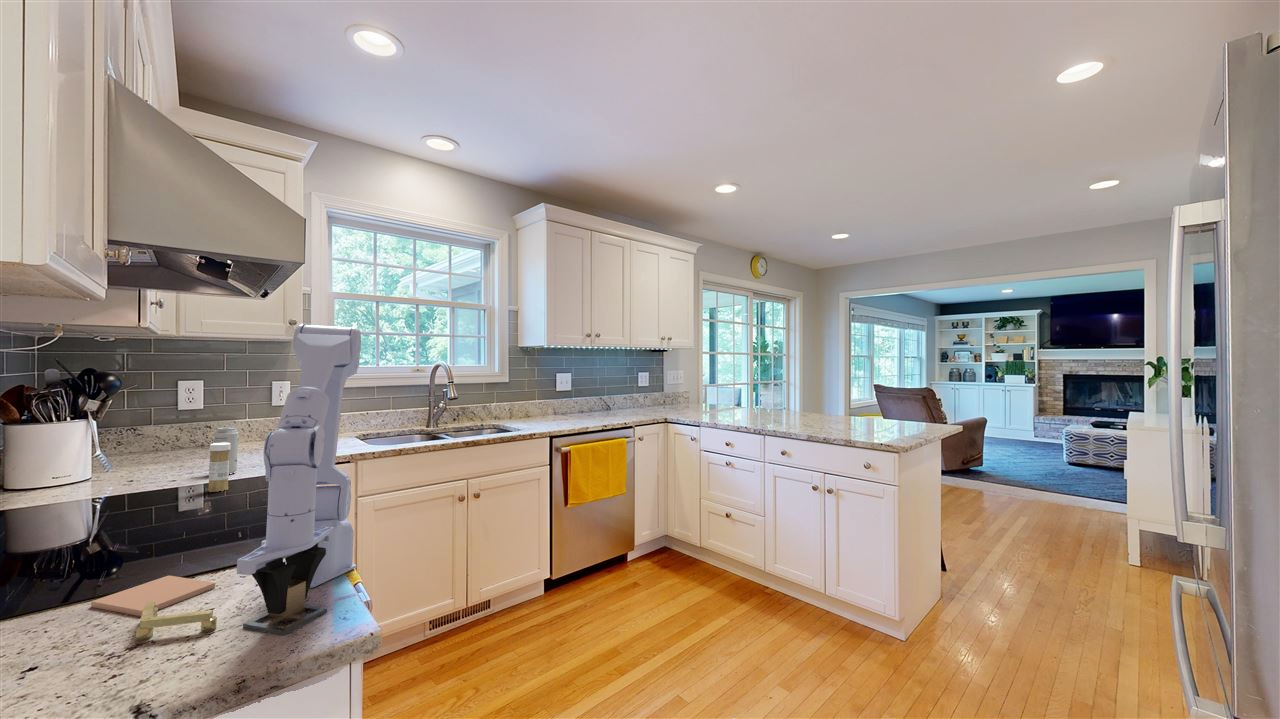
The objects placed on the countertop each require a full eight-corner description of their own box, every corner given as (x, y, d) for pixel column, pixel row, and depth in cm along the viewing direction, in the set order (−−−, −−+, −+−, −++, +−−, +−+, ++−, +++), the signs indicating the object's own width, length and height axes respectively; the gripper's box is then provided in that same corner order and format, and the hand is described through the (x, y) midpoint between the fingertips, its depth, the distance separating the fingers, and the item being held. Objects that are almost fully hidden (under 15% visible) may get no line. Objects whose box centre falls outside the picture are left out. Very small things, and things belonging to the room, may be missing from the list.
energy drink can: (240, 473, 166) (243, 428, 166) (219, 476, 160) (221, 429, 161) (229, 471, 168) (232, 426, 168) (208, 474, 163) (211, 428, 163)
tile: (168, 580, 84) (168, 575, 84) (214, 587, 81) (215, 582, 82) (91, 606, 74) (91, 601, 74) (141, 616, 72) (141, 610, 72)
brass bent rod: (154, 615, 72) (155, 598, 72) (219, 627, 69) (220, 610, 69) (105, 634, 67) (107, 616, 67) (174, 648, 64) (175, 629, 64)
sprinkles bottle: (226, 488, 146) (229, 441, 147) (229, 490, 143) (232, 443, 143) (206, 490, 143) (208, 442, 143) (208, 493, 140) (211, 444, 140)
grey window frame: (288, 605, 76) (290, 571, 76) (327, 612, 75) (328, 577, 75) (242, 628, 69) (244, 590, 70) (283, 635, 68) (285, 597, 68)
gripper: (307, 497, 80) (303, 583, 80) (218, 523, 66) (213, 628, 65) (347, 500, 79) (343, 587, 79) (265, 527, 65) (260, 634, 64)
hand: (287, 606), depth 72 cm, fingers closed on grey window frame, 3 cm apart
